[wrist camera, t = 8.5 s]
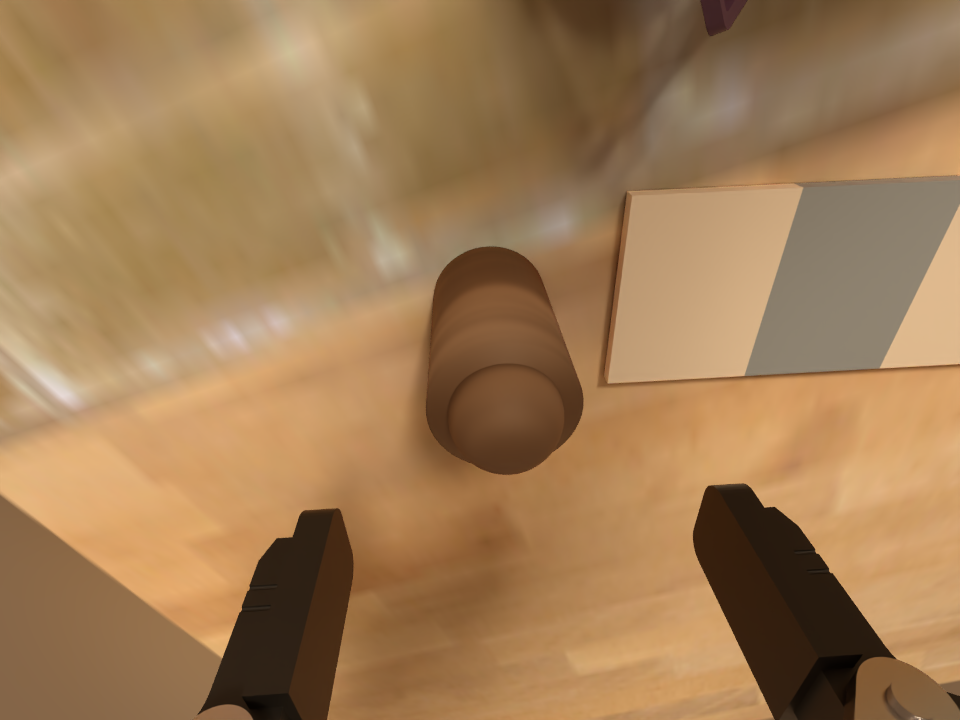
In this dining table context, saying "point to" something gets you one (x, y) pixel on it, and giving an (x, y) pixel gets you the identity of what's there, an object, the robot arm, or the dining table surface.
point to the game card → (720, 14)
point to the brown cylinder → (498, 365)
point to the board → (787, 279)
